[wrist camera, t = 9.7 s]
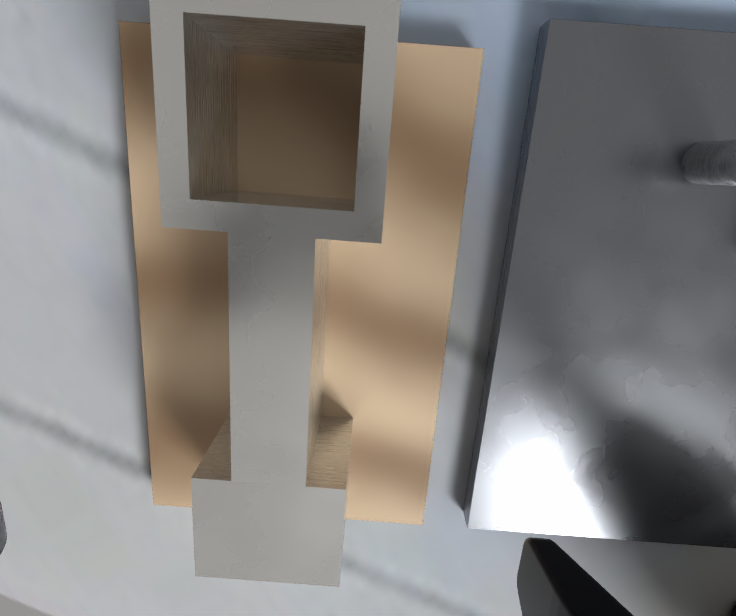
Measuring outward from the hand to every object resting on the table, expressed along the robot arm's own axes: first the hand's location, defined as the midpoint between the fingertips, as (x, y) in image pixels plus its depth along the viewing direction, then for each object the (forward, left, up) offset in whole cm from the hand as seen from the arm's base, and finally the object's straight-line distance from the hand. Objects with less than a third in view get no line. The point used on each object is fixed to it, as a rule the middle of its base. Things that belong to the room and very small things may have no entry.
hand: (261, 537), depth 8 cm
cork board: (+1, +1, -12) cm, 12 cm away
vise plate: (+1, -13, -12) cm, 17 cm away
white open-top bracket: (+1, +1, -11) cm, 11 cm away
